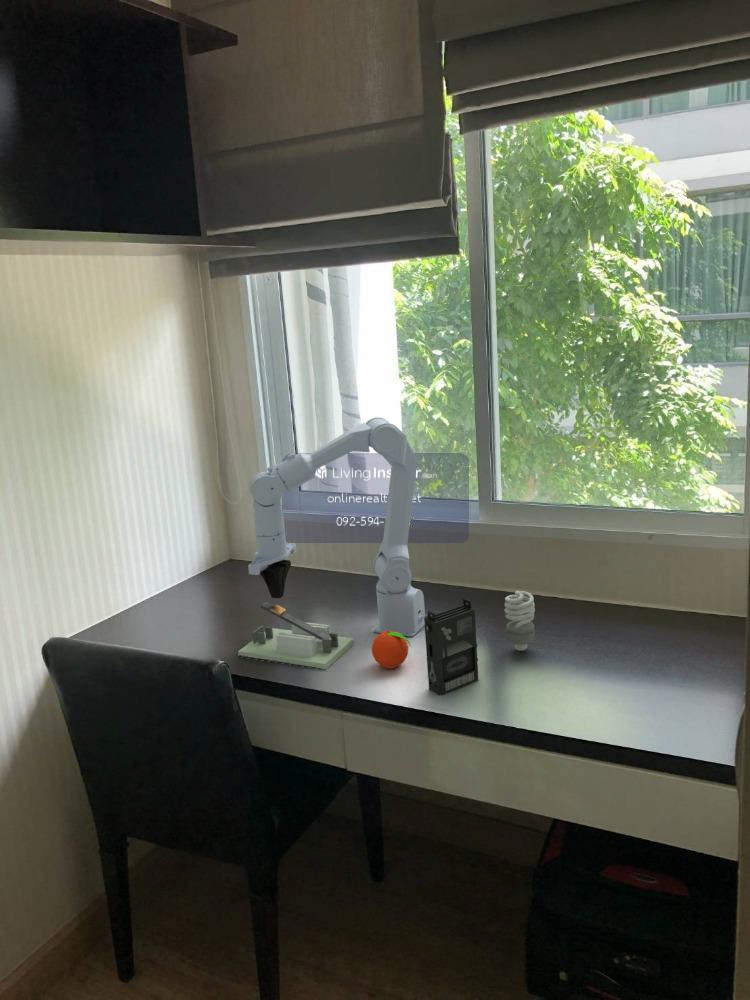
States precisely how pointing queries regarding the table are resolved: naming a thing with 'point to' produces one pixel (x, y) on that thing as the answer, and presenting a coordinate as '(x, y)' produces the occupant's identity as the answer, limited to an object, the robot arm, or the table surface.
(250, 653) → the heatsink board
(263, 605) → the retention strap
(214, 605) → the table surface
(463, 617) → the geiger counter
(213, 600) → the table surface
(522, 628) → the light bulb
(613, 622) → the table surface
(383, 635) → the clementine
